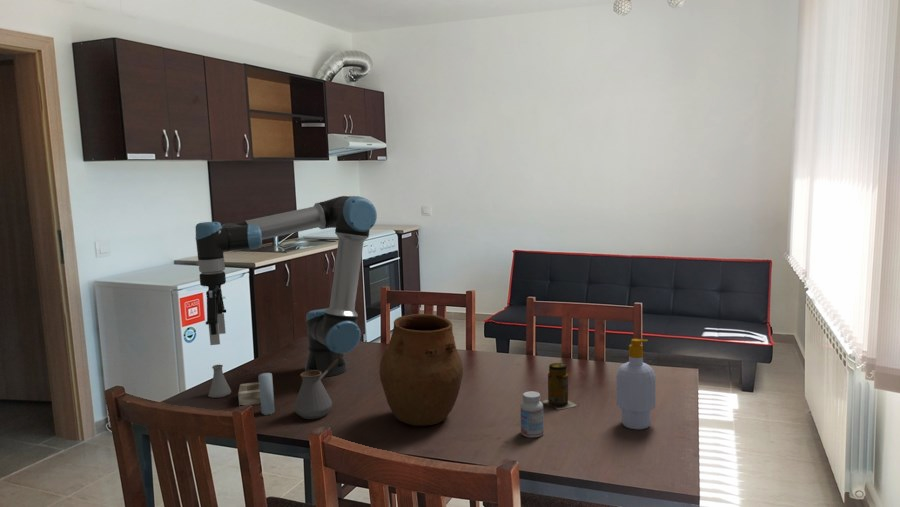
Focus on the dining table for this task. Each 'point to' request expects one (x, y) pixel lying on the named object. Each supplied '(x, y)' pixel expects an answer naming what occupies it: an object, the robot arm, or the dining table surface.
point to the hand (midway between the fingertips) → (218, 339)
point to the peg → (266, 393)
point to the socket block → (249, 394)
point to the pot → (421, 369)
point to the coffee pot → (314, 394)
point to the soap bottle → (636, 388)
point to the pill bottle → (532, 415)
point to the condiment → (558, 387)
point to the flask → (219, 383)
